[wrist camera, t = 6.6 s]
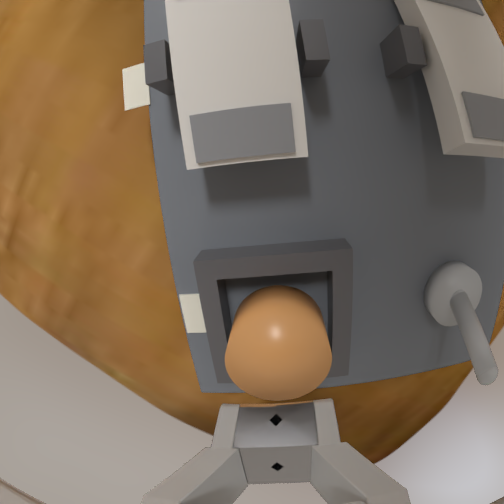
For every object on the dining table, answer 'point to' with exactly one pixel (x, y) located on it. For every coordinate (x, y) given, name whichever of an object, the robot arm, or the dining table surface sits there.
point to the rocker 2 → (461, 73)
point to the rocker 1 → (236, 81)
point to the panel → (337, 207)
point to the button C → (278, 344)
